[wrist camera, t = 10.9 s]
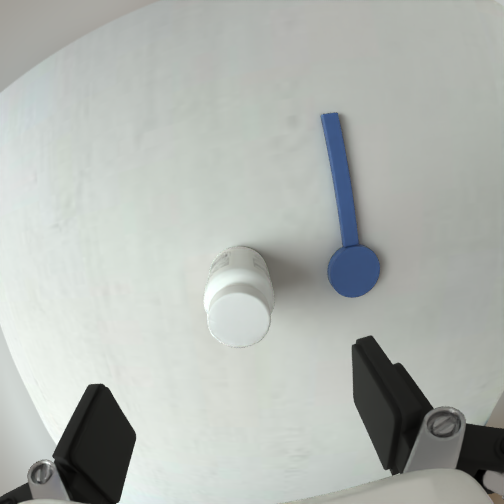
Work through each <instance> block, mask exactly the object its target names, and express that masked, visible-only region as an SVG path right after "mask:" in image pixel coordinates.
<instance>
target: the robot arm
mask: <svg viewBox="0 0 504 504" xmlns="http://www.w3.org/2000/svg"><path fill="white" fill-rule="evenodd" d="M352 366H353V398H354V402H355V405H356V408H357V410H358V412H359V414H360V416H361V419H362V421H363V423H364V425H365V427H366V430H367V432H368V434H369V436H370V439H371V441H372V443H373V445H374V448H375V450H376V452H377V454H378V457H379V459H380V461H381V463H382V466H383V468H384V469H385V470H388V469H390V471H391V474H392V476H391V477H387V478H383V479H380V480H377V481H373V482H369V483H366V484H362V485H359V486H355V487H352V488H348V489H344V490H341V491H337V492H333V493H328V494H324V495H320V496H315V497H311V498H306V499H301V500H296V501H290V502H285V503H279V504H494V503H493V502H492V500H491V498H490V497H489V496H488V494H492V493H497V494H500V495H502V496H503V497H502V499H504V429H501V428H493V427H486V426H480V425H473V424H467V423H466V419H465V417H464V415H463V414H462V413H461V412H460V411H459V410H457V409H456V408H453V407H438V408H435V409H434V408H433V407H432V405H431V404H430V403H429V401H428V400H427V398H426V397H425V396H424V394H423V393H422V391H421V390H420V389H419V387H418V386H417V384H416V383H415V382H414V380H413V379H412V377H411V376H410V375H409V373H408V372H407V371H406V369H405V368H404V367H403V365H402V364H401V363H396V364H392V363H391V361H390V360H389V359H388V357H387V356H386V354H385V353H384V352H383V350H382V349H381V347H380V346H379V345H378V343H377V342H376V340H375V339H374V338H373V336H367V337H364V338H360V339H357V340H356V344H354V345H352ZM135 441H136V433H135V431H134V429H133V428H132V426H131V425H130V423H129V421H128V420H127V418H126V417H125V415H124V413H123V412H122V410H121V409H120V407H119V405H118V403H117V402H116V400H115V398H114V397H113V395H112V393H111V391H110V390H109V388H108V387H105V385H103V384H90V385H88V387H87V389H86V390H85V392H84V394H83V396H82V398H81V400H80V402H79V404H78V405H77V407H76V409H75V411H74V413H73V415H72V417H71V419H70V421H69V423H68V425H67V427H66V429H65V431H64V433H63V435H62V437H61V439H60V441H59V443H58V445H57V447H56V449H55V451H54V454H53V458H54V459H55V461H54V463H53V462H52V461H50V460H41V461H38V462H36V463H35V464H33V465H32V466H31V467H30V469H29V471H28V475H27V477H28V483H26V484H24V485H22V486H20V487H18V488H16V489H14V490H12V491H10V492H8V493H6V494H4V495H3V496H1V497H0V504H116V503H118V502H119V501H120V498H121V494H122V490H123V486H124V482H125V478H126V474H127V470H128V467H129V463H130V459H131V456H132V452H133V448H134V445H135ZM398 473H400V474H399V475H396V474H398ZM393 475H395V476H393Z"/></svg>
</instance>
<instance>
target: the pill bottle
mask: <svg viewBox="0 0 504 504" xmlns="http://www.w3.org/2000/svg"><path fill="white" fill-rule="evenodd" d="M274 303H275V297H274V291H273V286H272V283H271V279H270V275H269V271H268V268H267V265H266V263H265V261H264V259H263V258H262V256H261V255H260V254H259V253H257V252H256V251H254V250H252V249H250V248H247V247H241V246H237V247H231V248H228V249H226V250H224V251H222V252H221V253H220V254H218V255H217V257H216V258H215V259H214V261H213V263H212V265H211V268H210V271H209V276H208V280H207V284H206V288H205V293H204V306H205V310H206V312H207V322H208V327H209V330H210V332H211V334H212V335H213V336H214V337H215V338H216V339H217V340H218V341H219V342H221V343H223V344H225V345H227V346H230V347H237V348H243V347H248V346H251V345H254V344H256V343H258V342H259V341H260V340H262V339H263V338H264V337H265V335H266V334H267V332H268V330H269V327H270V323H271V314H272V311H273V309H274Z"/></svg>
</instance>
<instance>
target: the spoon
mask: <svg viewBox="0 0 504 504" xmlns="http://www.w3.org/2000/svg"><path fill="white" fill-rule="evenodd" d="M321 120H322V125H323V129H324V134H325V139H326V144H327V149H328V155H329V160H330V166H331V171H332V177H333V183H334V189H335V195H336V201H337V208H338V215H339V222H340V229H341V236H342V244H343V247H342V248H340V249H339V250H338V251H336V252H335V254H334V255H333V256H332V258H331V260H330V262H329V265H328V279H329V281H330V283H331V285H332V286H333V288H334V289H335V290H336V291H337V292H338V293H339V294H341V295H342V296H345V297H359V296H362V295H364V294H365V293H367V292H368V291H370V290H371V289H372V288H373V286H374V285H375V284H376V282H377V280H378V277H379V274H380V264H379V260H378V258H377V256H376V255H375V253H374V252H373V251H372V250H370V249H369V248H367V247H366V246H364V245H361V244H359V240H358V231H357V223H356V215H355V208H354V201H353V194H352V187H351V181H350V175H349V169H348V163H347V157H346V152H345V146H344V141H343V136H342V131H341V126H340V121H339V116H338V113H328V114H322V115H321Z"/></svg>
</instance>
